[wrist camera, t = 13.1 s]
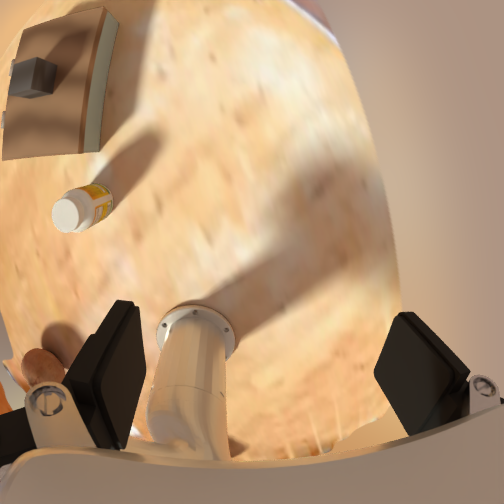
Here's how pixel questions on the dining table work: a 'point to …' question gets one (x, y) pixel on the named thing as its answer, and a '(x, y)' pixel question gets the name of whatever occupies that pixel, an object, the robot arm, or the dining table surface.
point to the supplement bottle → (82, 208)
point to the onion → (41, 367)
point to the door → (51, 86)
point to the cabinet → (99, 84)
